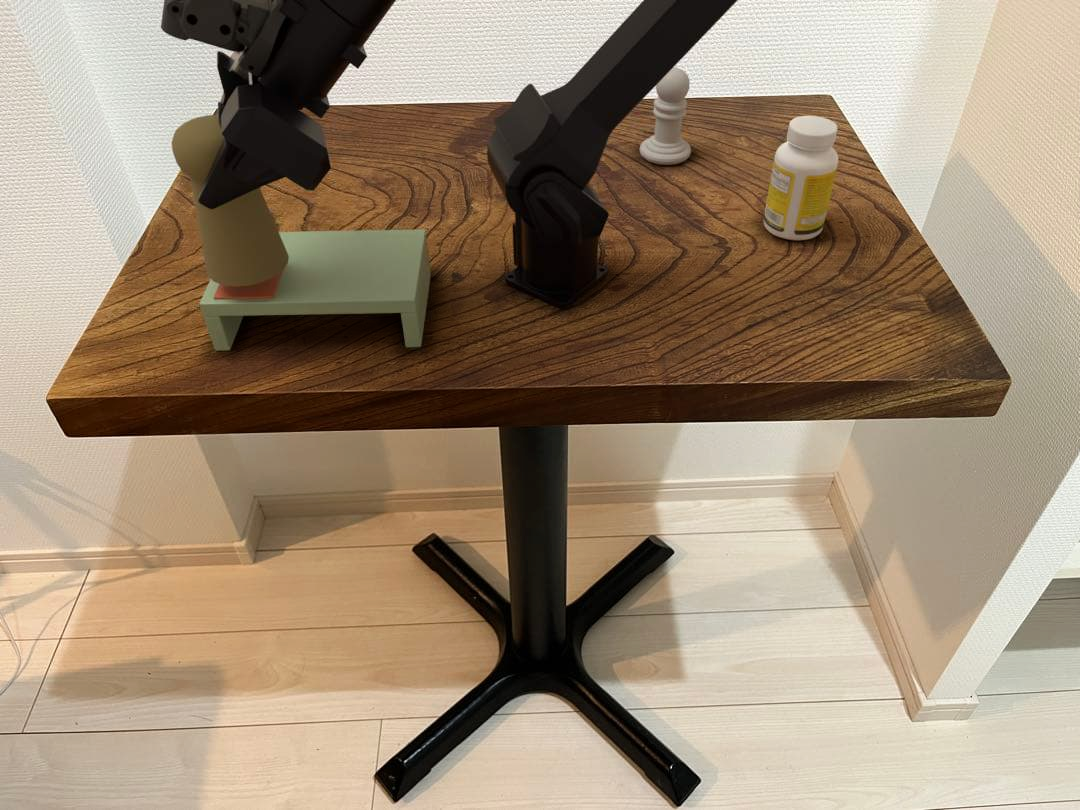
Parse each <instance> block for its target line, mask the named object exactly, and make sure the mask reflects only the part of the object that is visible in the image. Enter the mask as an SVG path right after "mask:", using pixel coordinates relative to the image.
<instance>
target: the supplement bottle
mask: <svg viewBox="0 0 1080 810" xmlns="http://www.w3.org/2000/svg"><path fill="white" fill-rule="evenodd" d="M838 129H839V128H838V125H837V123H836V122H834V121H833V120H832V119H829V118H826V117H823V116H818V115H801V116H800V115H799V116H797V117H795V118H792V119H791V120H790V121H789V124H788V128H787V133H786V141H785V142H784V143H781V144H780V145H779V146H778V148H777V149H776V152H775V156H774V159H773V165H772V169H771V170H772V171H771V176H770V181H769V186H768V192H767V197H766V202H765V208H764V215H763V226H764V227H765V229H766V231H768V232H769V233H770V234H771V235H773V236H776V237H778V238H780V239H783V240H789V241H807V240H811V239H814V238H816V237H817V236H818V235H820V234H821V232H822V231H823V229H824V225H825V221H826V218H827V213H828V209H829V205H830V201H831V197H832V192H833V187H834V184H835V179H836V174H837V170H838V165H839V154H838V152H837V150H836V149H835V148H834V147H833V146H834V144H835V142H836V139H837V135H838Z"/></svg>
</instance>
